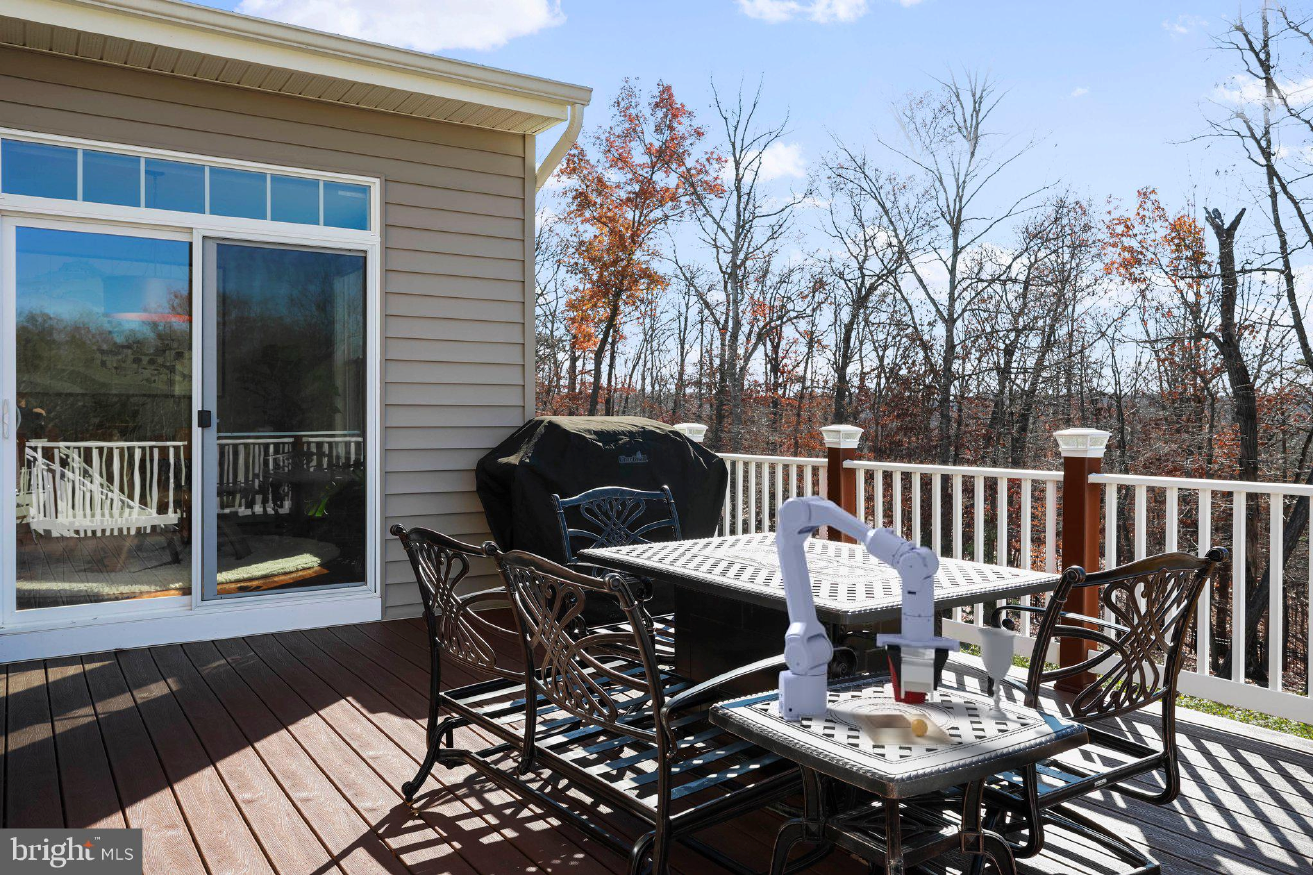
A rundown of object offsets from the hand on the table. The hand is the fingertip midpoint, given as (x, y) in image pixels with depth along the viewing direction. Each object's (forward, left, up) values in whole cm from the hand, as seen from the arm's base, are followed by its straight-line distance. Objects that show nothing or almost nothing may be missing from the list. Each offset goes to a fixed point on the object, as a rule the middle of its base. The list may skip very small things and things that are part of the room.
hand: (917, 687), depth 157 cm
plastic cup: (+6, +21, -10) cm, 24 cm away
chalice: (+19, +9, -10) cm, 24 cm away
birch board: (-2, +3, -10) cm, 11 cm away
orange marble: (0, -1, -9) cm, 9 cm away
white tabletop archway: (0, 0, -1) cm, 1 cm away
